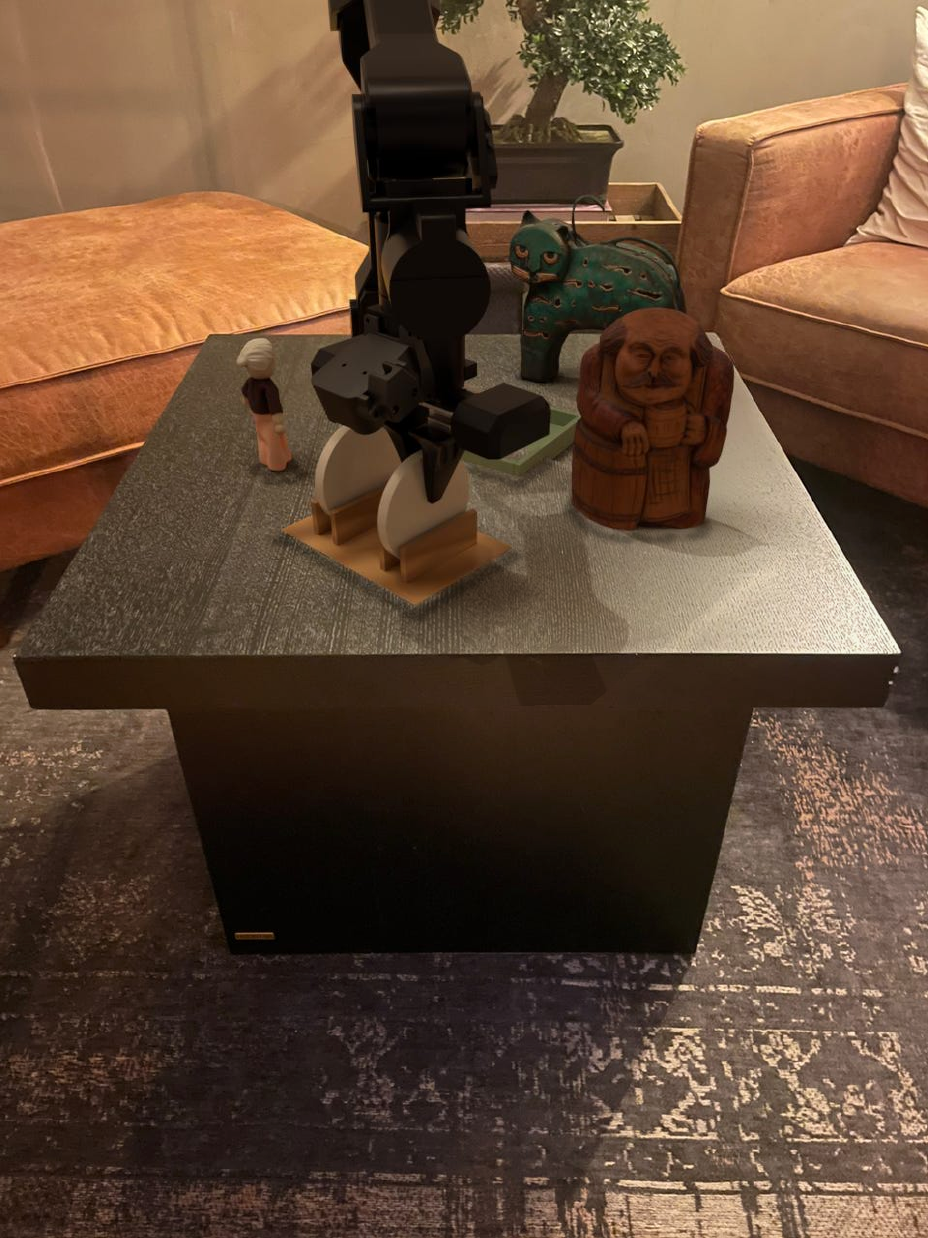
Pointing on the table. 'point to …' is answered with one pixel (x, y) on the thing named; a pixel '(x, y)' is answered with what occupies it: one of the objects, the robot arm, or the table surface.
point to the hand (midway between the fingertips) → (428, 498)
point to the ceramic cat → (582, 285)
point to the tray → (536, 445)
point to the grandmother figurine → (265, 403)
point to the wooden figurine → (650, 422)
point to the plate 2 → (417, 504)
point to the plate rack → (421, 560)
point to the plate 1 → (353, 466)
